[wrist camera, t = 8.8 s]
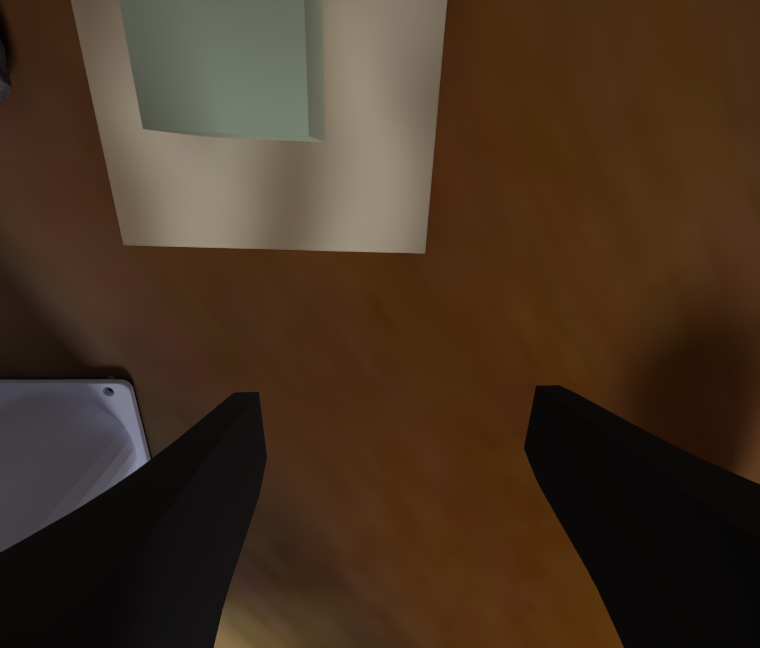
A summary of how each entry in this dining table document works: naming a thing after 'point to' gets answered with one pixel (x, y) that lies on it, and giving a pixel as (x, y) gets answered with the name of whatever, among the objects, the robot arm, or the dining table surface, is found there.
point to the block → (228, 67)
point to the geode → (4, 74)
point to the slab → (284, 143)
